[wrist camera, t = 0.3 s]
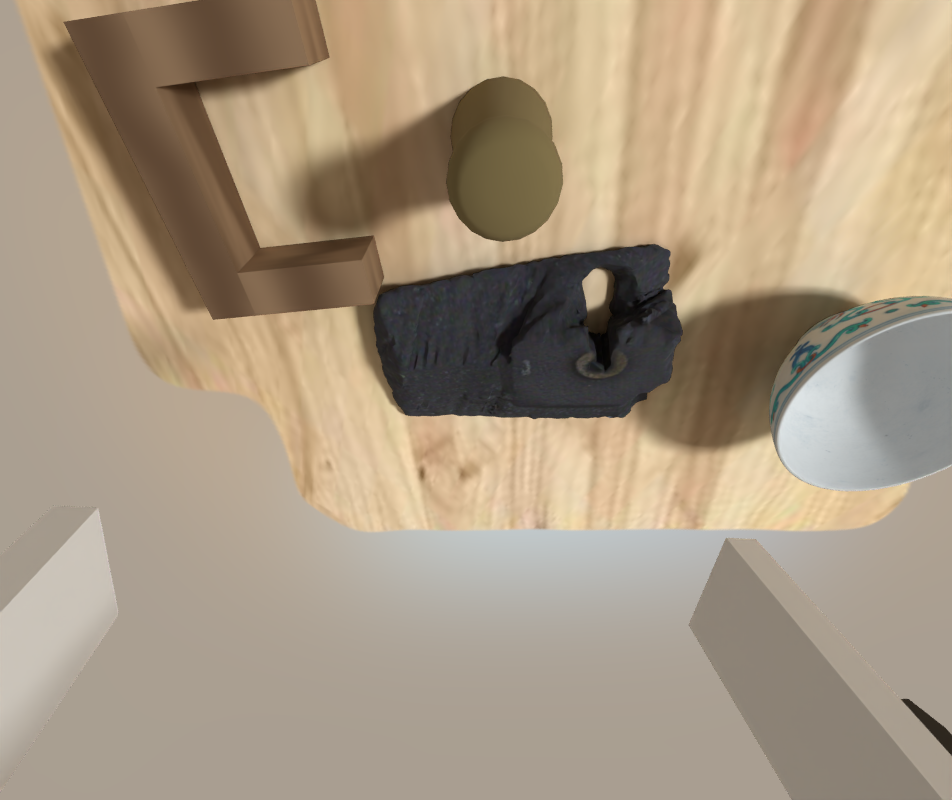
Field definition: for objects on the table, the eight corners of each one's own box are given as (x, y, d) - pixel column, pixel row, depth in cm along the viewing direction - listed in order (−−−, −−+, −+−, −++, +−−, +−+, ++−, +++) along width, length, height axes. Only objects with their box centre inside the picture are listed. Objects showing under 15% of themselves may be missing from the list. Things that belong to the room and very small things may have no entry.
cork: (488, 208, 33) (487, 284, 24) (429, 123, 30) (404, 175, 21) (571, 149, 30) (602, 210, 22) (516, 50, 27) (527, 75, 19)
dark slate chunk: (363, 249, 35) (348, 280, 31) (686, 237, 34) (710, 266, 30) (396, 417, 45) (387, 455, 41) (649, 411, 44) (663, 450, 40)
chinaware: (763, 261, 34) (821, 317, 28) (998, 246, 33) (1110, 302, 27) (715, 426, 44) (751, 494, 38) (898, 418, 43) (964, 488, 37)
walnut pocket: (312, -13, 26) (287, -14, 23) (384, 277, 36) (373, 304, 33) (113, 18, 27) (63, 21, 24) (236, 292, 37) (213, 319, 34)
